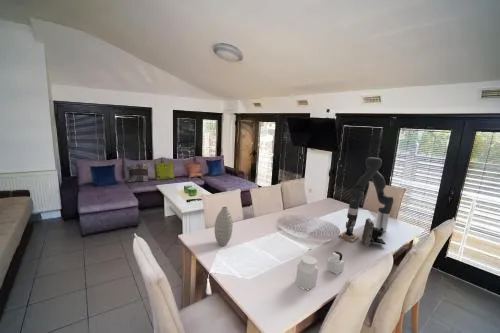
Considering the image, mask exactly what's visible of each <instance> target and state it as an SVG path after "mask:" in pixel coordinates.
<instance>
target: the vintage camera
mask: <svg viewBox="0 0 500 333" xmlns="http://www.w3.org/2000/svg"><path fill="white" fill-rule="evenodd" d="M383 230H384V229H383V228H382V227H381V229H380V230H379V229H378V228H375V223H374V222H373V221H372V219H371V218H366V219H365V222H364V227H363V231H362V235H361V239H362V241H363V243H364V245H365V246H369V245H370V244H371V243H373V244H378V245H379V244H380V245H384V246H385V245H387V243H386V242H385V241H384V240H383V238H381V237H382V236H383V234H384V232H382V231H383Z"/></svg>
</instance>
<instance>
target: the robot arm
mask: <svg viewBox="0 0 500 333" xmlns="http://www.w3.org/2000/svg"><path fill="white" fill-rule="evenodd" d="M382 164H383V161H382V159H381V158H380V157H373V156H369V157H367V158H366V159H365V166H366V169H367V170H368V171H367V172H366V173H364V174H362V175H361V176H360V177H359V179H358V181H357V182H356V183H355V184H354V185H353V186H352V187H351V188H350V189H349V190H348V195H349V197H350V198H354V199H351V200H350V201H349V205H348V209H347V214H346V218H347V219H348V220H347V221H346V223H345V229H346V230H347V233H350V228H351V227H352V224H354V227H356V223H357V219H358V214H359V208H360V203H361V201H362V199H363V197H364V192H363V190H365V189H366V187H367V185H368V184H369V182H370V180H371V181H372V184H373V186H374V189H375V191H376V196H377V201H378V203H379V204H381V205H384V207H383V206H382V207H378V209H377V210H378V211H377V216H376V221H375V224H374V227H375V228H378V229H379V230H380V229H381V227H382V228H383V229H384V230H383V231H381V232H382V233H384V232H385V233H386V232H387V228H388V224H389V219H390V214H391V211H392V208H393V205H394V197H393V196H391V195H387V194H386V193H385V191H384V190H385V188H386V185H387V184H386V183H387V182H386V180H385V177H384V176H383V174H381V173H380V172H379V170H380V168H381V166H382ZM349 226H350V227H349Z"/></svg>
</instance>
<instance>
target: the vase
mask: <svg viewBox="0 0 500 333" xmlns="http://www.w3.org/2000/svg"><path fill="white" fill-rule="evenodd" d="M214 222H215V223H214V238H215V240H216V242H217V244H218V245H219V246H220V247H225V246H227V244H228V243H229V242H230V240H231V238H232V235H233V228H234V227H233V217H232V215H231V213H230V211H229V209H228V207H227V206H222V207H221V209H220V211H219V212H218V214H217V215H216V219H215V221H214Z"/></svg>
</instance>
